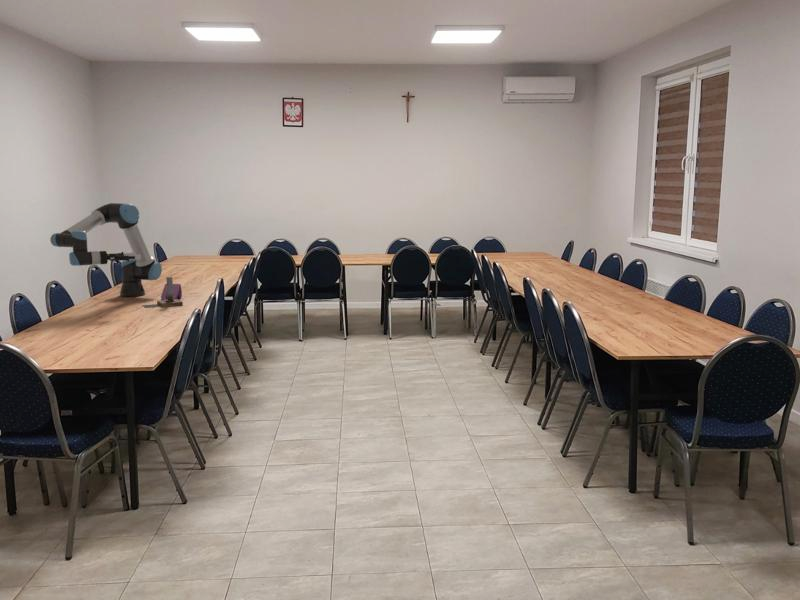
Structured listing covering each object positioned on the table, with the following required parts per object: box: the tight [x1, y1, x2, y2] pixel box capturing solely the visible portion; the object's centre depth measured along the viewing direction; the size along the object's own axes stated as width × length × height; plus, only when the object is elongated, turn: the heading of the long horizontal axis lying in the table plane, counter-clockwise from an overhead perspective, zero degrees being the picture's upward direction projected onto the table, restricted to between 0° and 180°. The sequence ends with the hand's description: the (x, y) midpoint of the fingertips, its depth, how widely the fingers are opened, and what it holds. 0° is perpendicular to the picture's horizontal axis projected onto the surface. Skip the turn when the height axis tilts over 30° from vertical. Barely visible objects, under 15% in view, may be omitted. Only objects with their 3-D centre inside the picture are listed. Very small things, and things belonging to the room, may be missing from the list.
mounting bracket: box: [160, 283, 183, 300], centre depth 451 cm, size 10×8×18 cm
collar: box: [156, 299, 184, 308], centre depth 433 cm, size 12×12×2 cm
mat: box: [141, 303, 160, 309], centre depth 428 cm, size 10×8×1 cm
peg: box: [165, 276, 174, 302], centre depth 432 cm, size 3×3×17 cm
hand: (138, 255), depth 424 cm, fingers open, 13 cm apart
